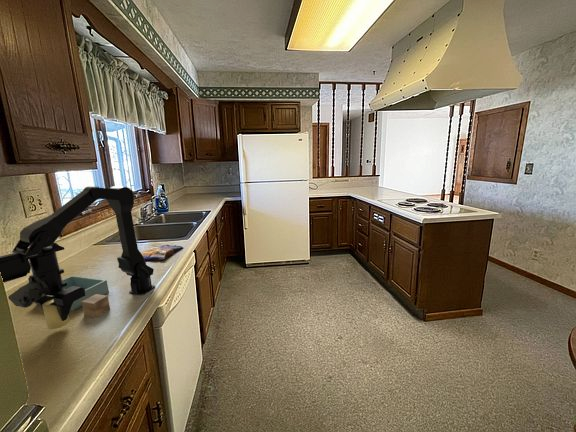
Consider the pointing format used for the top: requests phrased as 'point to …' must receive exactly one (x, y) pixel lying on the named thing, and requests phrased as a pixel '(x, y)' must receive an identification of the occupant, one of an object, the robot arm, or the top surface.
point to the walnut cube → (95, 305)
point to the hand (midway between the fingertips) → (57, 318)
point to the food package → (160, 252)
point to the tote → (86, 288)
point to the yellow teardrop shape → (53, 316)
